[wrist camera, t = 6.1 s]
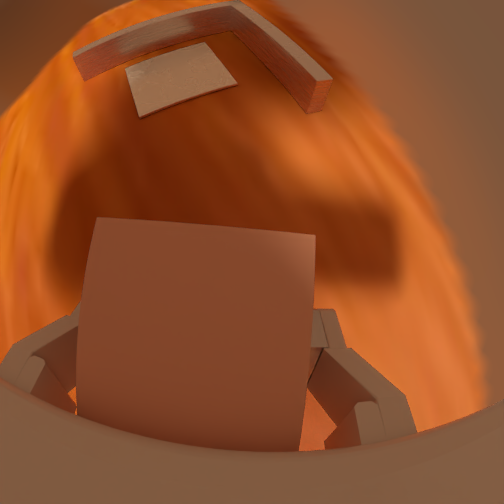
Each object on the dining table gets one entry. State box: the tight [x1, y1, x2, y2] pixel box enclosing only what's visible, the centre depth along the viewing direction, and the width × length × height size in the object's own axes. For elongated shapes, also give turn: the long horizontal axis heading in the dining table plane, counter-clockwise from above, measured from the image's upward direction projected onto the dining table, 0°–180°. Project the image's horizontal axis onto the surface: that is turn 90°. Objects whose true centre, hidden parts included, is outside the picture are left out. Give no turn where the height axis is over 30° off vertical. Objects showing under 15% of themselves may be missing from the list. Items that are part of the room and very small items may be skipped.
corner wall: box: [73, 0, 333, 119], centre depth 15 cm, size 14×15×3 cm
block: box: [76, 217, 316, 452], centre depth 8 cm, size 4×4×8 cm
